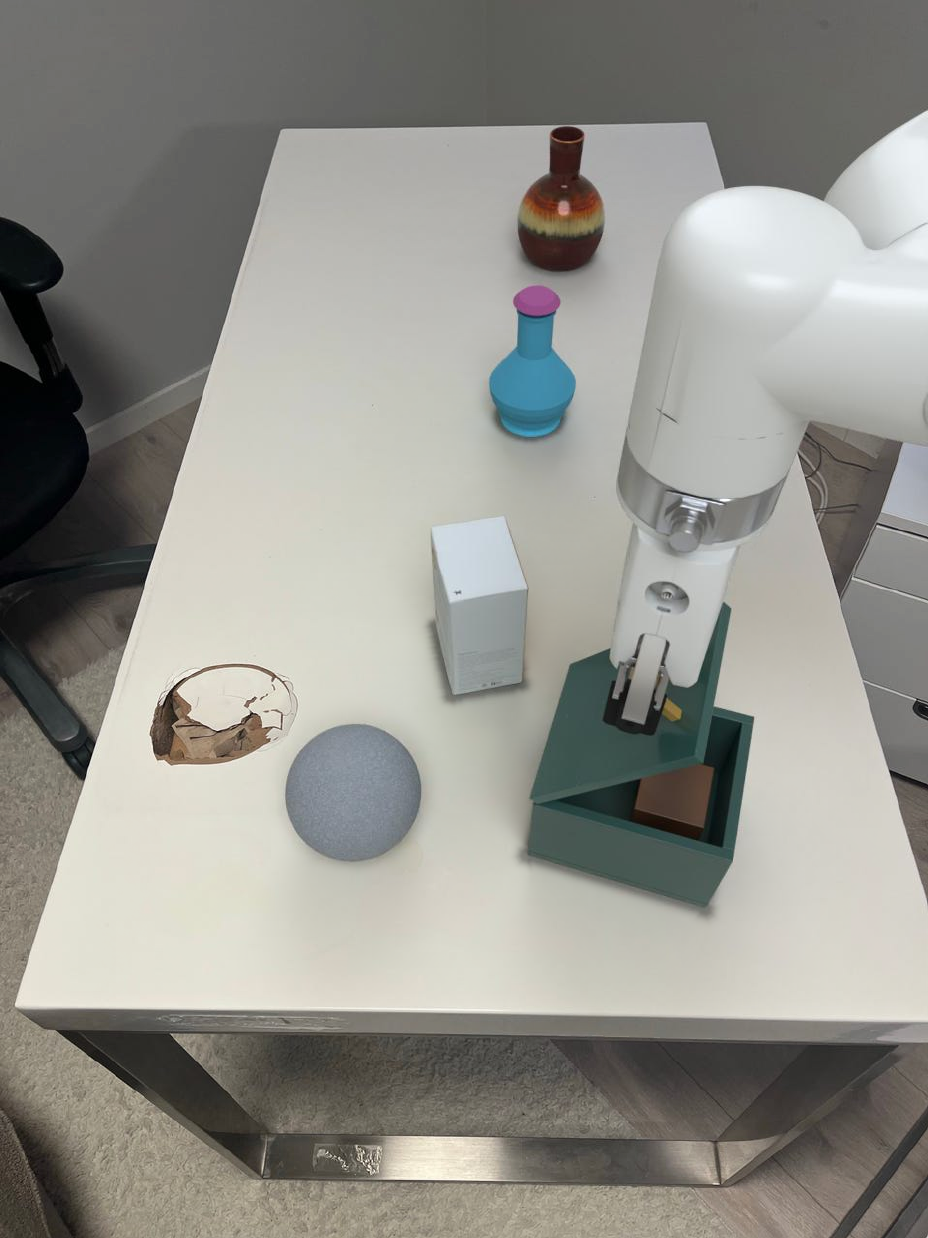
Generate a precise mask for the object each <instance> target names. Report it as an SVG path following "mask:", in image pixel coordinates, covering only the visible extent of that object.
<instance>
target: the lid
mask: <svg viewBox="0 0 928 1238" xmlns="http://www.w3.org/2000/svg"><path fill="white" fill-rule="evenodd" d="M731 614H732V607H730V605H728V603H726V602H725V601H723V604H722V607H721V610H720V613H719V616H718V619H717V622H716V624H715V627H714V630H713V633H712V636H711V639H710V642H709V645H708V648H707V651H706V654H705V657H704V660H703V663H702V667H701V670H700V673H699V676H698V680H697V682H696V683H695V684H693V685H692V686H690V687H688V688H686V687H681V686H676V685H673V684H672V683H671V681H670V678H669V681H668V684H667V688H666V691H665V694H666V695H667V699H666V703H665V706H664V708H663V711H662V714H661V717H660V720H659V723H658V726H657V729H656V732H655V734H654V735H652V736H649V735H645V734H641V733H640V734H630V733H626V732H623V731H620V730H619V729H617V728H616V726H612V725H608V724H606V723H604V722H603V715H604V711H605V707H606V703H607V699H608V695H609V691H610V687H611V683H612V680H614V681H616V680H617V677H618V673H619V669H620V666H618V669H616V668H615V667H614V665H613V664H612V662H611V660H610V650H611V647H609V648H607V649H604V650H602V651H599V652H597V653H594V654H591V655H589V656H587V657H584V658H582V659H579V660H577V661H574V662H572V663H570V664H569V665H568V669H567V673H566V675H565V679H564V682H563V686H562V689H561V692H560V694H559V695H560V696H559V699H558V702H557V705H556V709H555V712H554V716H553V719H552V722H551V725H550V729H549V731H548V734H547V738H546V741H545V745H544V748H543V751H542V754H541V757H540V762H539V765H538V768H537V771H536V774H535V778H534V781H533V783H532V784H533V785H532V788H531V791H530V794H529V798H528V799H529V800H530V801H532V803H533V802H535V803H536V804H540V803H544V802H548V801H552V800H556V799H560V798H564V797H568V796H572V795H576V794H580V793H584V792H588V791H592V790H597V789H601V788H605V787H609V786H613V785H617V784H621V783H625V782H629V781H633V780H637V779H641V778H645V777H649V776H653V775H657V774H661V773H665V772H670V771H674V770H678V769H682V768H686V767H690V766H694V765H698V764H702V763H703V762H704V756H705V751H706V746H707V740H708V735H709V729H710V724H711V718H712V713H713V707H715V702H716V696H717V690H718V685H719V679H720V674H721V669H722V664H723V657H724V653H725V646H726V642H727V636H728V630H729V624H730V620H731ZM638 648H639V649H640V646H639V645H638ZM664 654H665V652H664V653H663V655H664ZM634 669H635V667H631V666H630V667H629V671H628V675H627V679H631V680H632V676H633V673H634ZM659 675H660V674H658V676H657V679H656V683H655V689H656V685H657V682H658V678H659ZM627 679H626V682H627Z"/></svg>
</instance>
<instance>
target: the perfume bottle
mask: <svg viewBox="0 0 928 1238" xmlns="http://www.w3.org/2000/svg"><path fill="white" fill-rule="evenodd" d="M512 303H513V307H515V310H516V314H517V334H516V335H517V338H516V346H515V348H513V349H512V351H510V353H509V354H508V355H507V356H505V357H504V358H503V359H502V360H501V361H500V362H499V363H498V364H497V365H496V366H495V367H494V369H493V370H492V371H491V372H490V375H489V379H488V387H489V394H490V396H491V399H492V402H493V404H494V405H495V407H496V412H497V413H498V414H499V417H500V418H499V419H500V422H501V424H502V426H504V428H505V429H506V430H507V431H508V432H510V433H512V434H514V435H517V436H520V437H527V438H537V437H542V436H545V435H548V434H550V433H551V432H553V431H555V430H556V429H557V428H558V426H559V425H560V422H561V419H562V417H563V416H564V414H565V412H566V410H567V409H568V408H569V406H570V405H571V403H572V401H573V398H574V395H575V391H576V387H577V380H576V377H575V374H574V373H573V371H572V370H571V368H570V367H569V366H568V365H567V364H566V362H565V361H564V360H563V359H562V358H561V357H560V356H559V354H558V353H557V352H556V351H555V350H554V348H553V334H554V322H555V321H554V320H555V315H556V314H557V311H558V309H559V308H560V306H561V298H560V296H559V295H558V294H557V293H556V292H555V291H554V290H552V289H551V288H549V287H547V286H544V285H530V286H529V285H528V286H527V287H524V288H523V289H521V290H520V291H519V292H517V293H516V294H515V295H514V296H513V299H512Z"/></svg>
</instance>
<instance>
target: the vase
mask: <svg viewBox="0 0 928 1238" xmlns="http://www.w3.org/2000/svg"><path fill="white" fill-rule="evenodd" d="M585 138H586V135H585V132H584V131H583V130H582V129H581V128H579V127H577V126H572V125H571V126H570V125H564V126H563V125H562V126H557V127H555V128H553V129H552V130H551V131H550V133H549V169H548V173H546V174H544V175H542V176H541V177H539V178H538V179H537V180H535V181H534V182H533V183H532V184H531V185H530V186H529V187H528V189H527V190H526V191H525V193H524V195H523V197H522V198H521V201H520V204H519V208H518V212H517V220H516V222H517V223H516V225H517V234H518V235H517V236H518V239H519V242H520V245H521V248H522V250H523V252H524V254H525V256H526V257H527V258H528V260H530V261H531V263H533V264H534V265H536V266H538V267H539V268H542V269H544V270H547V271H552V272H553V271H555V272H564V271H565V272H566V271H572V270H574V269H577V268H580V267H581V266H583V265H584V264H586V263H587V262H588V261H589V260H590V259H591V258H592V257H593V255H595V253H596V252H597V250H598V248H599V245H600V244H601V241H602V237H603V234H604V230H605V222H606V211H605V206H604V201H603V198H602V197H601V194H600V192H599V190H598V189H597V188H596V186H595V185H594V183H592V182H591V181H590V180H589V179H588V178H587V177H586V176H584V175H582V174H581V165H582V157H583V150H584V143H585Z"/></svg>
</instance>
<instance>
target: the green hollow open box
mask: <svg viewBox="0 0 928 1238" xmlns="http://www.w3.org/2000/svg"><path fill="white" fill-rule="evenodd" d="M754 724H755V716H754V715H749V714H745V713H743V712H742V713H741V712H737V711H734V710H731V709H726V708H722V707H718V706H714V707H713V713H712V718H711V724H710V729H709V735H708V740H707V746H706V751H705V756H704V762H703V763H702V765H706V766H709V767H713V768H714V774H713V780H712V785H711V791H710V797H709V803H708V808H707V814H706V820H705V825H704V829H703V831H702V833H701V835H700V837H699V840H698V841H696V840H693V839H689V838H686V837H682V836H679V835H675V834H672V833H668V832H665V831H661V830H658V829H654V828H651V827H647V826H644V825H640V824H637V823H633V822H630V821H629V819H630V815H631V811H632V806H633V802H634V798H635V793H636V789H637V785H638V780H639V779H637V780H633V781H629V782H625V783H621V784H617V785H613V786H609V787H605V788H601V789H597V790H592V791H588V792H584V793H580V794H576V795H572V796H568V797H564V798H560V799H556V800H552V801H548V802H544V803H540V804H536V803H535V802H533V801H532V806H531V807H532V808H531V818H530V829H529V836H528V837H529V838H528V846H527V855H528V856H531V857H534V858H537V859H540V860H544V861H547V862H551V863H554V864H558V865H561V866H564V867H566V868H571V869H574V870H578V871H581V872H583V873H584V872H585V873H588V874H591V875H595V876H598V877H601V878H604V879H608V880H612V881H614V882H618V883H621V884H624V885H627V886H632V887H635V888H638V889H641V890H645V891H648V892H652V893H655V894H658V895H661V896H665V897H667V898H671V899H674V900H678V901H681V902H685V903H687V904H691V905H694V906H699V907H702V908H705V909H707V907H708V906H709V904H710V902H711V901H712V899H713V898H714V896H715V894H716V892H717V890H718V888H719V887H720V885H721V883H722V881H723V879H724V878H725V876H726V874H727V872H728V871H729V869H730V868H731V866H732V864H733V862H734V857H735V849H736V843H737V837H738V830H739V823H740V817H741V810H742V803H743V797H744V791H745V790H744V789H745V784H746V783H745V782H746V777H747V770H748V769H747V768H748V763H749V758H750V757H749V756H750V750H751V743H752V737H753V730H754Z"/></svg>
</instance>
